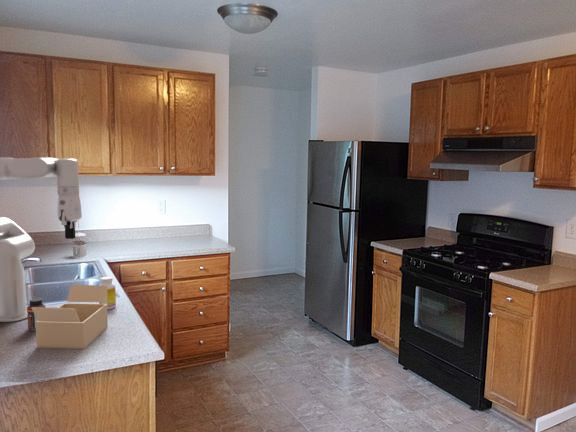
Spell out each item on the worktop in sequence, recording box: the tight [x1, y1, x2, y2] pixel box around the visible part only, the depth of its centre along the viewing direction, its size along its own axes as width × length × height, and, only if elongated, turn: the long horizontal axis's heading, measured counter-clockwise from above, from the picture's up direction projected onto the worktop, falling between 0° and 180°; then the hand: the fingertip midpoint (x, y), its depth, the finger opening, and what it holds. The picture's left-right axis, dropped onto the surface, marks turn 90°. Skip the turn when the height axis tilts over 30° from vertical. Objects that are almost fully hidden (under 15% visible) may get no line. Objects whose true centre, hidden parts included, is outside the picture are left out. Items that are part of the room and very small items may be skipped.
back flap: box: [66, 284, 107, 303], centre depth 177 cm, size 14×6×1 cm
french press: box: [71, 219, 89, 259], centre depth 295 cm, size 10×12×25 cm
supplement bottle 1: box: [27, 297, 46, 332], centre depth 173 cm, size 6×6×11 cm
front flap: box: [32, 307, 80, 322], centre depth 154 cm, size 14×6×1 cm
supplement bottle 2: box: [98, 276, 117, 310], centre depth 199 cm, size 7×7×13 cm
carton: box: [35, 302, 109, 350], centre depth 166 cm, size 16×20×9 cm
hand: (70, 238), depth 182 cm, fingers closed
